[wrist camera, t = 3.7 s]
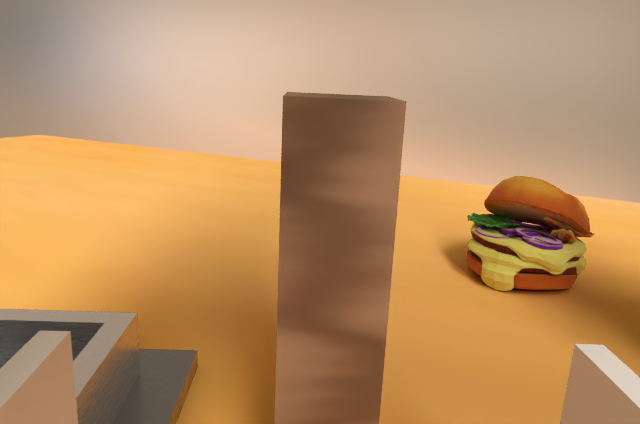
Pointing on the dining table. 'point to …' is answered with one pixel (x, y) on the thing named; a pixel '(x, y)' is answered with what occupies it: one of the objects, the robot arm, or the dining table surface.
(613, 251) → the dining table surface
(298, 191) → the walnut post
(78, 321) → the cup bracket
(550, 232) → the cheeseburger
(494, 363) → the dining table surface
